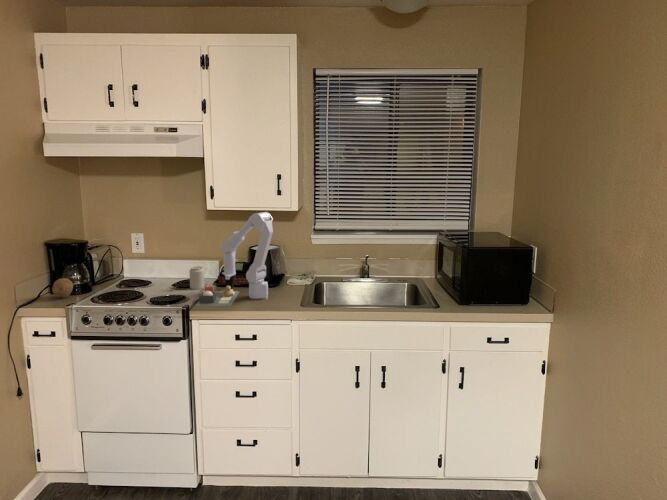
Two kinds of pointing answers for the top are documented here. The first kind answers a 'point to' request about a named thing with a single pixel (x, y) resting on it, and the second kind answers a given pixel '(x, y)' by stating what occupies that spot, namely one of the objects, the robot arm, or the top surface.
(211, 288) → the die
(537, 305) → the top surface
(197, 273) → the can
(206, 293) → the dome
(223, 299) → the board
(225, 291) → the pawn
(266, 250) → the robot arm
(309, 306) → the top surface
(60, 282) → the natural sponge
